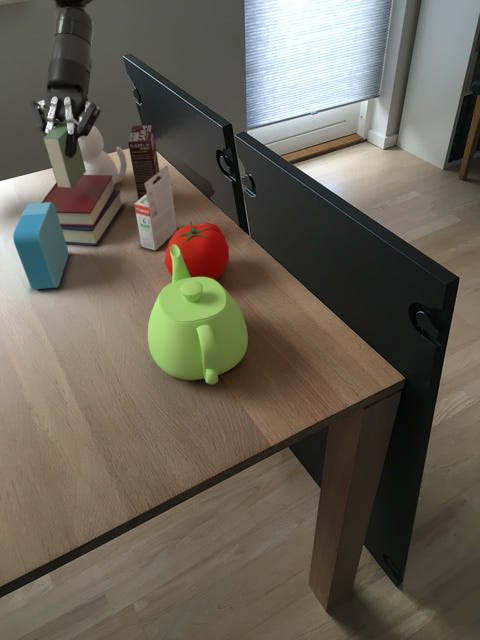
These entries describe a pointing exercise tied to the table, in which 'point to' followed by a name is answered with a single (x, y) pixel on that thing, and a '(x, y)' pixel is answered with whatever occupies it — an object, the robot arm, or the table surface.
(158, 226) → the ink box
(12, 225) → the table surface
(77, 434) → the table surface
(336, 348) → the table surface
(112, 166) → the cat figurine
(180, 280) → the teapot
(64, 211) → the book stack
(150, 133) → the supplement box
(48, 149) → the green rectangular block
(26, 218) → the blue rounded block
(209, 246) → the tomato
